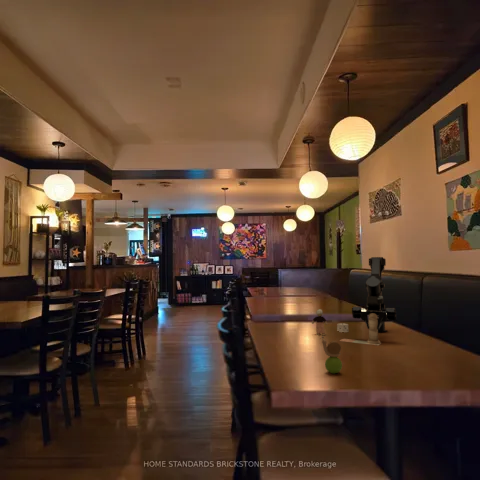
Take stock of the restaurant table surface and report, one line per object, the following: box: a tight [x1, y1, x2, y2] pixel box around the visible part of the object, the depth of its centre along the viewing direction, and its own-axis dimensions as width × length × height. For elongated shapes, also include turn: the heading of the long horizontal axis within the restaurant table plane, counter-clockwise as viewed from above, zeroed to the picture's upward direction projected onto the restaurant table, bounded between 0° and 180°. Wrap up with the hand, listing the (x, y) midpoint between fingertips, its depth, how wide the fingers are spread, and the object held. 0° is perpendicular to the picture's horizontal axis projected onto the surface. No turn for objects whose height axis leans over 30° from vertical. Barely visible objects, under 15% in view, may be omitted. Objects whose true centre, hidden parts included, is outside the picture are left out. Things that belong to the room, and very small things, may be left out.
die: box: [336, 322, 349, 333], centre depth 200 cm, size 4×4×4 cm
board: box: [339, 338, 382, 346], centre depth 172 cm, size 18×7×1 cm, turn 57°
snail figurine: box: [321, 335, 343, 375], centre depth 126 cm, size 5×6×12 cm
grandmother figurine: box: [311, 309, 329, 336], centre depth 192 cm, size 8×4×13 cm, turn 84°
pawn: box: [366, 313, 381, 346], centre depth 169 cm, size 5×5×13 cm
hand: (373, 328), depth 168 cm, fingers closed on pawn, 4 cm apart
